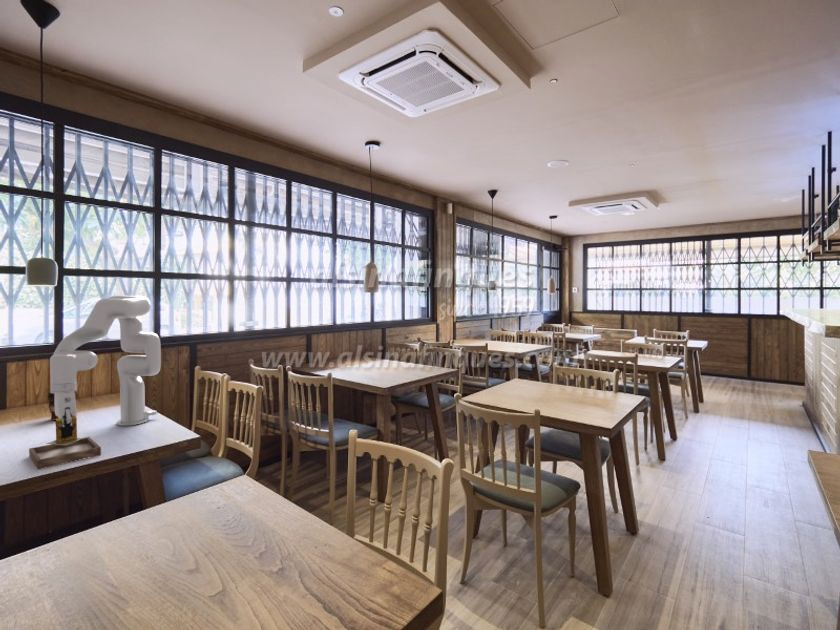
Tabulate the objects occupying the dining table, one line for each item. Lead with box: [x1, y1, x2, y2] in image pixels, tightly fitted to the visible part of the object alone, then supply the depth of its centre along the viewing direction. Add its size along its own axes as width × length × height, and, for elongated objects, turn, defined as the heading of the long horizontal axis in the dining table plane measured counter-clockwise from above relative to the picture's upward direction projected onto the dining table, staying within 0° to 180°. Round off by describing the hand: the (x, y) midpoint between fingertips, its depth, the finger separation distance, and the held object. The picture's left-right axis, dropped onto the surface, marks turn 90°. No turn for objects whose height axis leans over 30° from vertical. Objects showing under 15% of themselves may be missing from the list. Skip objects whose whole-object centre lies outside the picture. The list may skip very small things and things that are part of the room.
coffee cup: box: [47, 392, 57, 421], centre depth 204 cm, size 9×8×13 cm
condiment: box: [45, 414, 84, 445], centre depth 160 cm, size 7×8×12 cm
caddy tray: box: [28, 436, 102, 470], centre depth 160 cm, size 18×17×3 cm
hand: (64, 434), depth 160 cm, fingers closed on condiment, 6 cm apart
